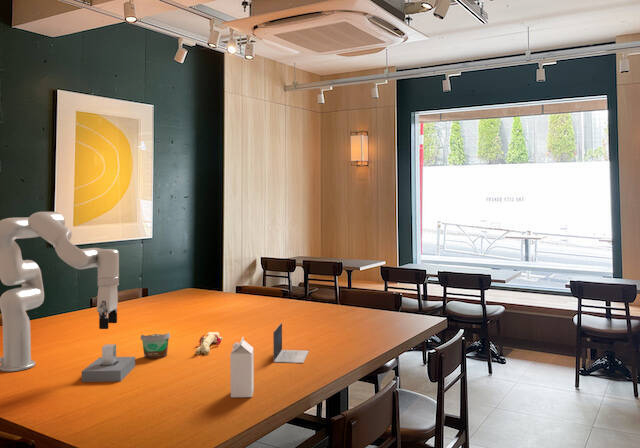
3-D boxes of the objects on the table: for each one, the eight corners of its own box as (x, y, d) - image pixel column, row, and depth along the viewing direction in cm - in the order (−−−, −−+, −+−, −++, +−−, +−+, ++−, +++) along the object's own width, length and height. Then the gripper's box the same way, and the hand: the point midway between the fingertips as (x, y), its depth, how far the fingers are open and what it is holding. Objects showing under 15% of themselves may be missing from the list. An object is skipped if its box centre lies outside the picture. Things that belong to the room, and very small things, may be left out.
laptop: (303, 364, 214) (303, 332, 214) (273, 363, 216) (272, 332, 215) (308, 352, 232) (308, 323, 232) (281, 351, 234) (281, 322, 233)
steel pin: (102, 375, 199) (102, 347, 199) (106, 372, 203) (105, 344, 203) (113, 375, 199) (112, 346, 199) (116, 372, 203) (116, 344, 203)
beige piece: (213, 358, 227) (225, 339, 252) (212, 338, 226) (224, 321, 251) (190, 358, 227) (204, 338, 252) (190, 338, 226) (204, 321, 251)
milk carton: (253, 390, 183) (253, 336, 182) (251, 397, 176) (251, 341, 175) (233, 390, 183) (233, 336, 182) (230, 398, 176) (230, 341, 175)
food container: (139, 361, 218) (139, 337, 218) (140, 356, 224) (140, 333, 224) (170, 358, 221) (170, 335, 221) (170, 354, 227) (170, 331, 227)
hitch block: (81, 382, 192) (81, 371, 192) (99, 367, 210) (99, 357, 210) (120, 381, 193) (120, 370, 192) (135, 366, 210) (135, 356, 210)
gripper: (106, 278, 208) (106, 320, 209) (89, 284, 191) (89, 331, 192) (125, 278, 209) (125, 320, 209) (110, 284, 192) (110, 331, 192)
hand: (108, 325), depth 201 cm, fingers open, 9 cm apart
